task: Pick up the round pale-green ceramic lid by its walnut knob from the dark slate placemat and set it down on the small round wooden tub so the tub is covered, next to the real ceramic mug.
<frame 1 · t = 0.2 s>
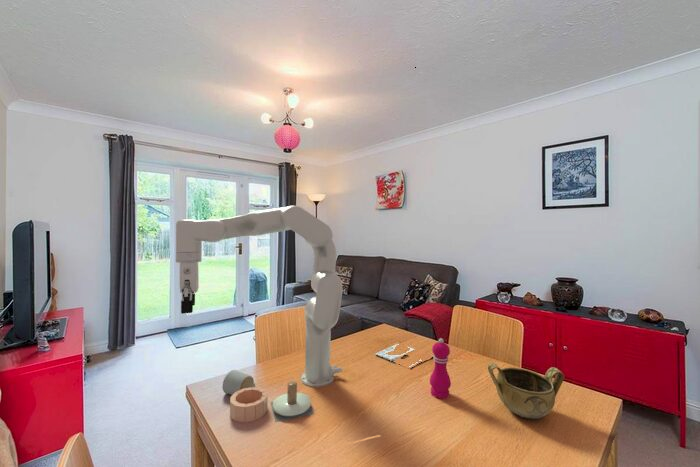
hand: (188, 309, 102), 31 cm above the table, fingers open, 9 cm apart
placemat: (291, 409, 99), on the table
ceramic mug: (240, 393, 109), on the table
ceramic bowl: (523, 412, 100), on the table
lid: (291, 407, 99), resting on placemat
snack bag: (404, 358, 141), on the table
round wooden tub: (248, 412, 97), on the table
pepper mill: (439, 394, 110), on the table
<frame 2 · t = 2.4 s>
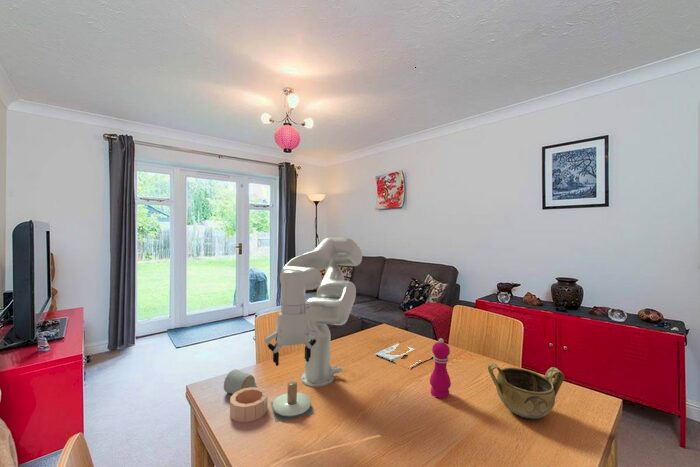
hand: (291, 362, 98), 15 cm above the table, fingers open, 9 cm apart
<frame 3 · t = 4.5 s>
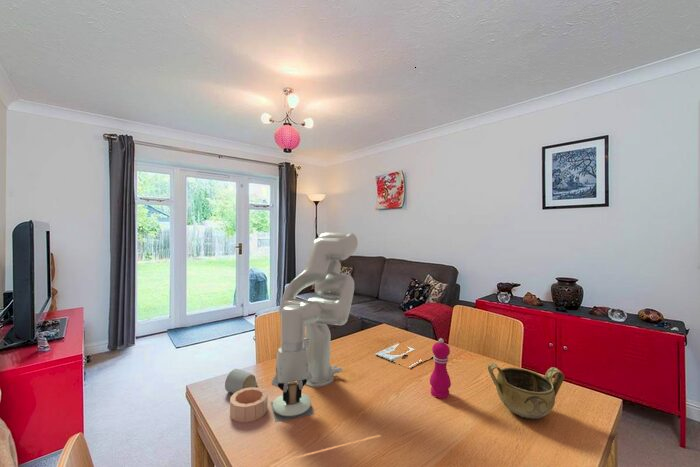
hand: (292, 400, 99), 3 cm above the table, fingers closed on lid, 3 cm apart
lid: (292, 407, 99), resting on placemat, touching gripper
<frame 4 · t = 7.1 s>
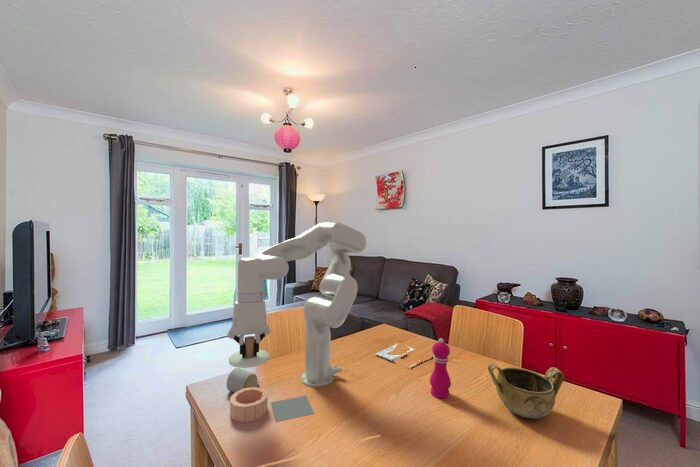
hand: (249, 355, 97), 18 cm above the table, fingers closed on lid, 3 cm apart
lid: (249, 362, 97), point 16 cm above the table, touching gripper
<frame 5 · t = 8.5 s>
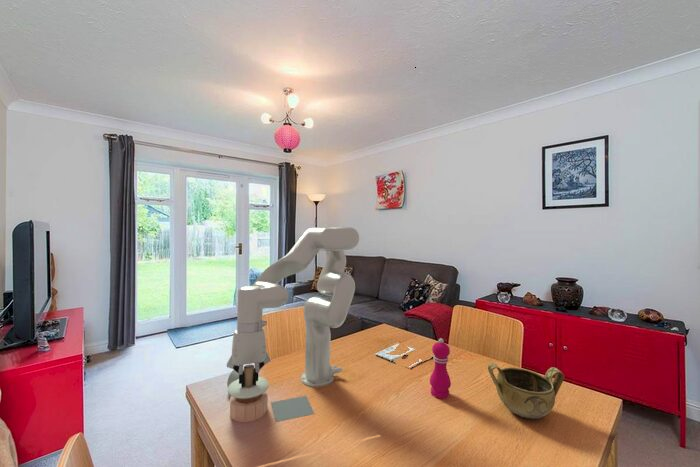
hand: (248, 383, 97), 9 cm above the table, fingers closed on lid, 3 cm apart
lid: (248, 391, 97), point 7 cm above the table, touching gripper
when the fingers open (7 cm above the table, at t = 9.6 s): lid stays where it is, resting on round wooden tub.
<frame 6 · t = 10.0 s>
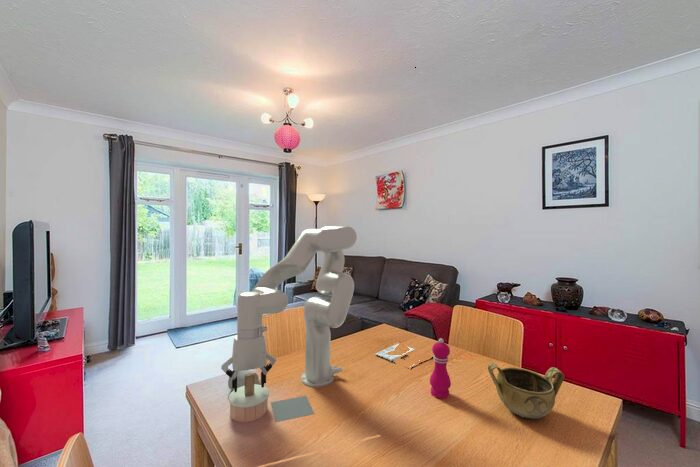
hand: (249, 387, 97), 8 cm above the table, fingers open, 7 cm apart
lid: (249, 399, 97), point 4 cm above the table, touching round wooden tub
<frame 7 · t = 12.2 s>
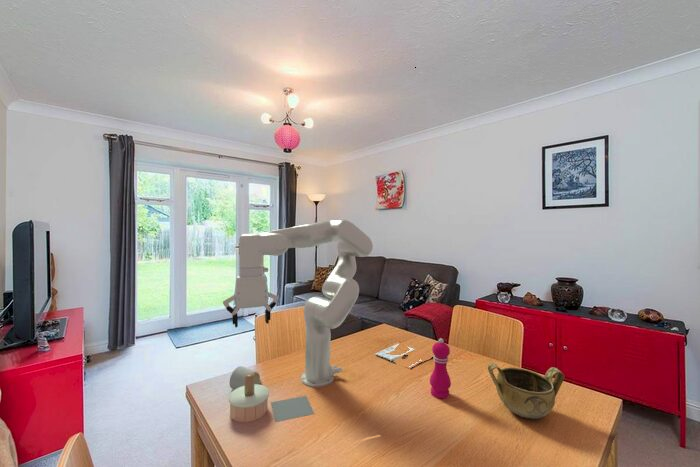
hand: (251, 324, 101), 27 cm above the table, fingers open, 9 cm apart
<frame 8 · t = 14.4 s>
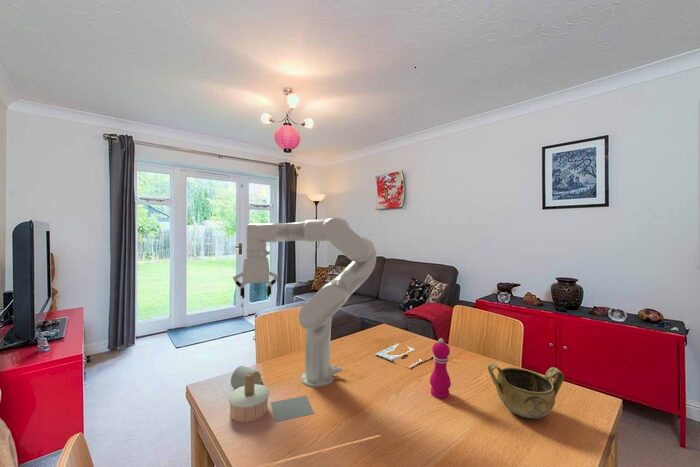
hand: (255, 297, 123), 30 cm above the table, fingers open, 9 cm apart
at the end: lid 0.1 cm off-centre on the round wooden tub, point 4.0 cm above the round wooden tub's base; lid tilted 0°; ceramic mug tilted 0° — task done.
